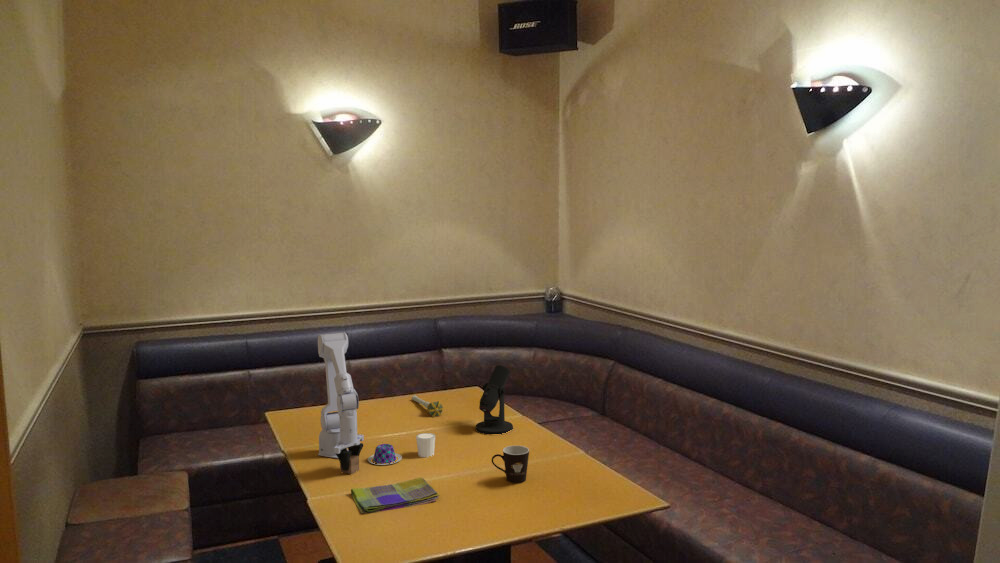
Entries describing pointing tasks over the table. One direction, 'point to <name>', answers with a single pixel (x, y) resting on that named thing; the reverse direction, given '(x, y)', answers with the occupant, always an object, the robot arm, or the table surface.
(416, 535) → the table surface
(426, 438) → the white tapered cup
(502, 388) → the microphone
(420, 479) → the dish towel
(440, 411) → the light stick
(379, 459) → the pudding
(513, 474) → the coffee mug
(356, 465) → the walnut block
